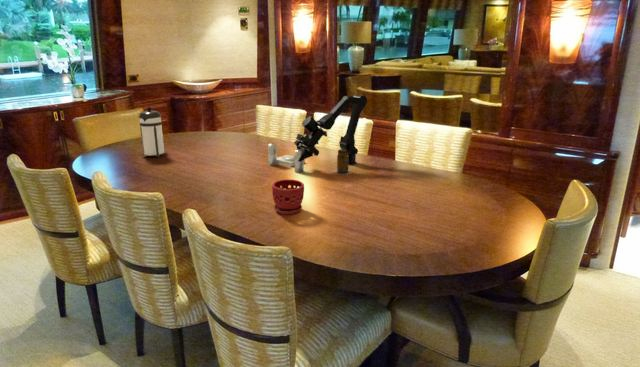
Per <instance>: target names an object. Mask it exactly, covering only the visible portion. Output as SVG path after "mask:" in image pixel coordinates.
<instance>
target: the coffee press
mask: <svg viewBox="0 0 640 367" xmlns="http://www.w3.org/2000/svg"><path fill="white" fill-rule="evenodd" d="M146 109H147V110H144V111H141V112H139V114H138V119H139V126H140V136H141V144H142V155H141V158H143V157H144V156H145V157H147V156H150V157H151V156H155V157H156V158H157V157H158V158H157V159H160V158H161V155H165V153H166V155H167V152H166V150H165V144H164V143H165V142H164V134H163V125H162V114H161V113H160V112H159V111H157V110H152V107H151V106H148V107H146ZM159 157H160V158H159Z"/></svg>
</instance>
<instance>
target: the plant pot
mask: <svg viewBox="0 0 640 367" xmlns="http://www.w3.org/2000/svg"><path fill="white" fill-rule="evenodd" d="M289 186H290V187H289ZM271 189H272V190H271V191H272V199H273V202H274V206H273V209H274V210H275V211H276V213H278V214H282V215H292V214H297V213H299V212H301V210H302V209H303V206H302V203H303V199H304V193H305V184H304V182H302V181H300V180H297V179H280V180H277V181H274V182H272V186H271Z"/></svg>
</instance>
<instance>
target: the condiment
mask: <svg viewBox="0 0 640 367" xmlns="http://www.w3.org/2000/svg"><path fill="white" fill-rule="evenodd" d="M336 157H337V158H336V170H333V171H334V172H335V173H336V174H339V175H350V174H353V173H352V172H351V171H350V170H349V166H350V165H349V164H348V163H349V162H348V161H349V156H348V150H345V149H341V148H340V149H338V150H337V156H336Z"/></svg>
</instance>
